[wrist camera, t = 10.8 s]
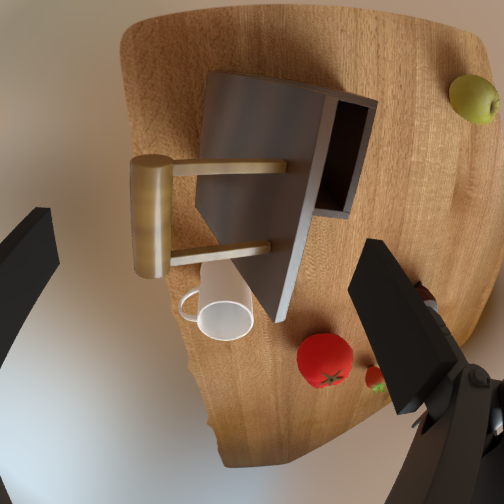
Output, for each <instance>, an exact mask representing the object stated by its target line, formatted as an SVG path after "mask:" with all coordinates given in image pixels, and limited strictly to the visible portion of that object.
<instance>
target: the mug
mask: <svg viewBox="0 0 504 504" xmlns="http://www.w3.org/2000/svg"><path fill="white" fill-rule="evenodd" d="M200 276H201V282H200V285H199V286H197V287H194V288H192V289H191V290H189V291H188V292H186V293H185V294H184V295H183V296H182V298H181V299H180V301H179V304H178V309H179V312H180V314H181V316H182V317H183V318H185V319H187V320H189V321H193V322H197V324H198V327H199V329H200V330H201V331H202V332H203V333H204V334H205V335H207V336H209V337H211V338H213V339H217V340H234V339H238V338H240V337H242V336H244V335H245V334H247V333H248V332H249V331H250V330H251V328H252V326H253V321H254V319H253V308H252V297H251V289H250V288H249V286H248V285H247V283H246V282H245V280H244V279H243V277H242V276H241V274H240V273H239V271H238V270H237V268H236V267H235V265H234V264H233V263H232V261H231V260H230V259H223V260H216V261H209V262H203V263H202V265H201V268H200ZM196 292H199V301H198V312H197V315H188V314H186V313H184V312H183V311H182V304H183V302H184V301H185V300H186V299H187V298H188V297H189V296H190V295H192V294H194V293H196Z"/></svg>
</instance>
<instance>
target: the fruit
mask: <svg viewBox="0 0 504 504" xmlns="http://www.w3.org/2000/svg"><path fill="white" fill-rule="evenodd" d="M365 382H366V385H367V386H368V387H369V388H370V389H371V390H374V393H376V392H377V390H378V389H379V390H380V392H381V391H383V392H384V389H383V388H382V387H384V386H386V383H385V380H384V378H383V375H382V373H381V370H380V369H379V368H377V367H375V366H371V367H369V368H368V370H367V373H366V377H365Z"/></svg>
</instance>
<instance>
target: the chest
mask: <svg viewBox="0 0 504 504" xmlns="http://www.w3.org/2000/svg"><path fill="white" fill-rule="evenodd" d="M216 72H223V73H230V74H237V75H243V76H249V77H255V78H261V79H266V80H271V81H276V82H281V83H286V84H290V85H295V86H299V87H304V88H308V89H312V90H316V91H320V92H324V93H328V94H331V95H335V96H338V103H337V108H336V113H335V118H334V123H333V127H332V132H331V137H330V142H329V146H328V151H327V155H326V160H325V164H324V169H323V173H322V178H321V182H320V186H319V191H318V195H317V199H316V203H315V207H314V212H313V215H315V216H324V217H332V218H340V219H348V217H349V214H350V211H351V207H352V204H353V200H354V196H355V193H356V189H357V186H358V182H359V178H360V174H361V171H362V167H363V163H364V159H365V155H366V151H367V147H368V143H369V139H370V135H371V130H372V126H373V122H374V117H375V113H376V109H377V104H378V101H377V100H373V99H370V98H367V97H364V96H360V95H357V94H354V93H350V92H347V91H343V90H338V89H334V88H330V87H325V86H320V85H316V84H311V83H306V82H300V81H295V80H289V79H283V78H277V77H270V76H263V75H256V74H248V73H240V72H230V71H220V70H216Z"/></svg>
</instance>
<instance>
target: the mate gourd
mask: <svg viewBox="0 0 504 504" xmlns="http://www.w3.org/2000/svg"><path fill="white" fill-rule="evenodd" d="M414 287H415V289H416V290H417V292H418V293H419V295H420V296H421V298H422V299H423V301H424V303H425V304H426V306H431V307H432V308H433V309H434V310H435V311H436V312H437V313H438V306H437V303H436V300H435V298H434V296H433V295H432V294H431V293H430V291H429V290H428V289H427V288H425V287H424V286H422V283H421V282H420V281H419V282H418V283H417V284H416V285H415V286H414Z"/></svg>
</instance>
